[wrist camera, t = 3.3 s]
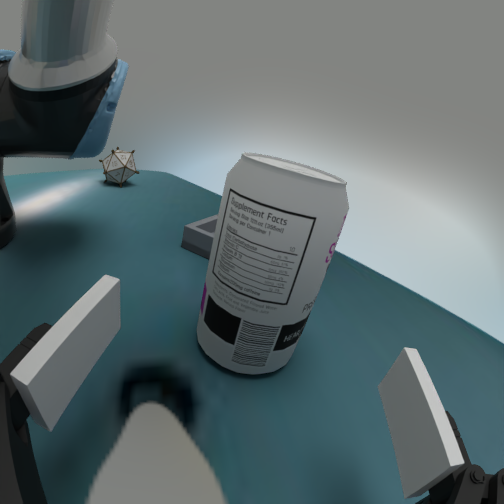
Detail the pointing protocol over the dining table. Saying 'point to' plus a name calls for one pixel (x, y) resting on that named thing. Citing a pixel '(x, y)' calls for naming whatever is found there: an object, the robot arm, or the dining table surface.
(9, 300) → the dining table surface
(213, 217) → the tray
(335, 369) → the dining table surface
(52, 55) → the robot arm
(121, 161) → the game die
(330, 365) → the dining table surface
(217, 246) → the supplement can
